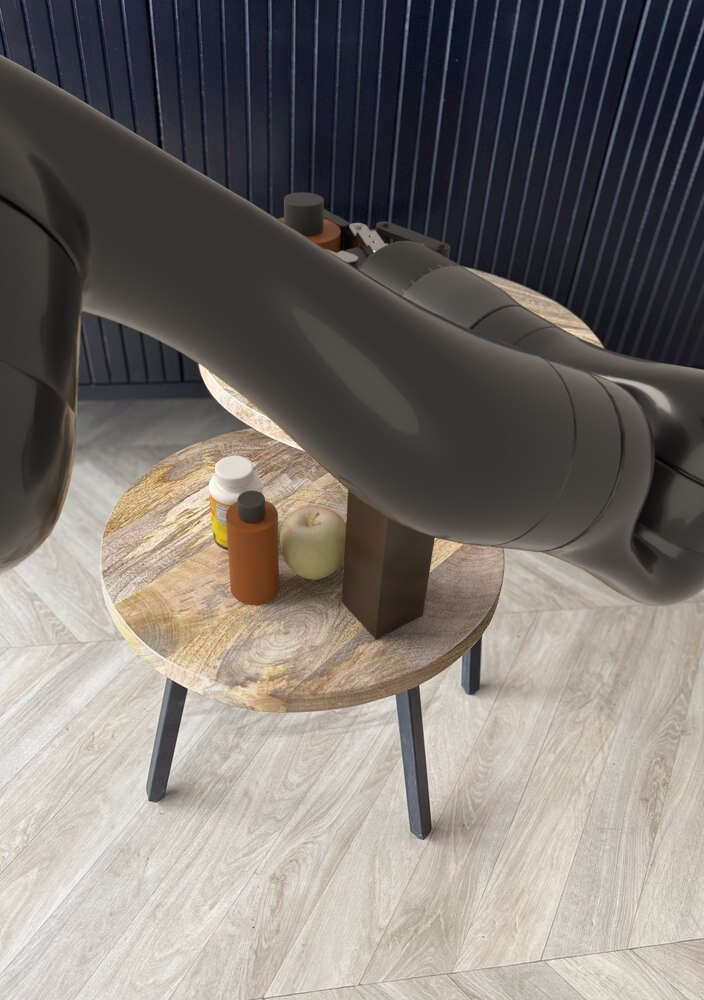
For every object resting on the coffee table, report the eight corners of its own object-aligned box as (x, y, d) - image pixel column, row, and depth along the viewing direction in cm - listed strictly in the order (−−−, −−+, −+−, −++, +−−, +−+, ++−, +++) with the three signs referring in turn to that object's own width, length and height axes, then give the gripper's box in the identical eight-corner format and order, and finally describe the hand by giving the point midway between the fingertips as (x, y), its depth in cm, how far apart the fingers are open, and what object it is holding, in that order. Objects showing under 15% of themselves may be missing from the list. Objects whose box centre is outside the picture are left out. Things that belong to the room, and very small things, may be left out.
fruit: (360, 578, 86) (364, 521, 81) (297, 599, 83) (297, 542, 78) (329, 534, 91) (331, 478, 86) (268, 552, 88) (267, 496, 83)
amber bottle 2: (289, 384, 58) (289, 217, 50) (256, 353, 61) (251, 192, 53) (348, 367, 60) (357, 205, 52) (313, 338, 63) (316, 181, 55)
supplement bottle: (227, 518, 92) (222, 445, 86) (271, 530, 91) (270, 458, 84) (204, 548, 88) (197, 475, 82) (250, 562, 87) (246, 489, 80)
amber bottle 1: (245, 611, 81) (240, 522, 74) (222, 581, 84) (215, 493, 77) (287, 592, 84) (287, 504, 76) (263, 564, 87) (261, 476, 79)
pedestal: (375, 639, 79) (393, 461, 65) (341, 601, 83) (351, 425, 69) (423, 615, 82) (450, 439, 68) (388, 579, 86) (407, 405, 72)
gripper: (540, 244, 47) (368, 160, 57) (334, 297, 40) (183, 191, 50) (516, 358, 51) (362, 261, 62) (329, 423, 45) (192, 302, 55)
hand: (282, 230), depth 56 cm, fingers closed on amber bottle 2, 5 cm apart
